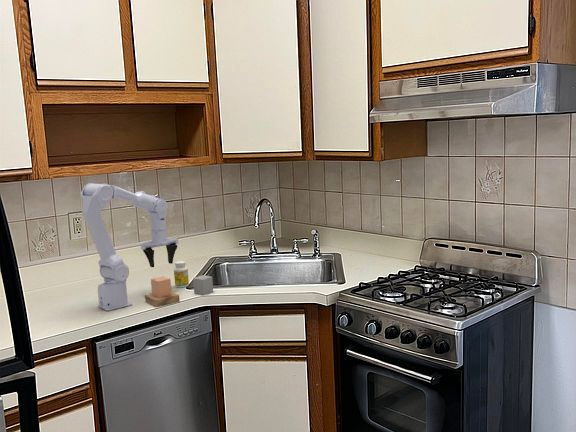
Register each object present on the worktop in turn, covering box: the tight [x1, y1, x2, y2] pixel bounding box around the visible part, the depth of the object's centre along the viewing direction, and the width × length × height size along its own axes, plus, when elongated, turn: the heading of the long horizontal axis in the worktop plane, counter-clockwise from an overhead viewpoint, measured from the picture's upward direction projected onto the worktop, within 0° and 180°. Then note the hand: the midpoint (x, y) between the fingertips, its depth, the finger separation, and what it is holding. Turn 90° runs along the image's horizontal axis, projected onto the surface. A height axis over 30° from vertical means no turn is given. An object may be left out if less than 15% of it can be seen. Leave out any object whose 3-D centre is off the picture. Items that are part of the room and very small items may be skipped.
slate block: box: [192, 274, 214, 296], centre depth 217 cm, size 5×5×6 cm
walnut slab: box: [144, 291, 180, 308], centre depth 208 cm, size 9×9×3 cm
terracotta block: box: [150, 276, 172, 298], centre depth 207 cm, size 5×5×6 cm
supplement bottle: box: [173, 260, 190, 289], centre depth 228 cm, size 5×5×10 cm
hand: (161, 265), depth 220 cm, fingers open, 7 cm apart
